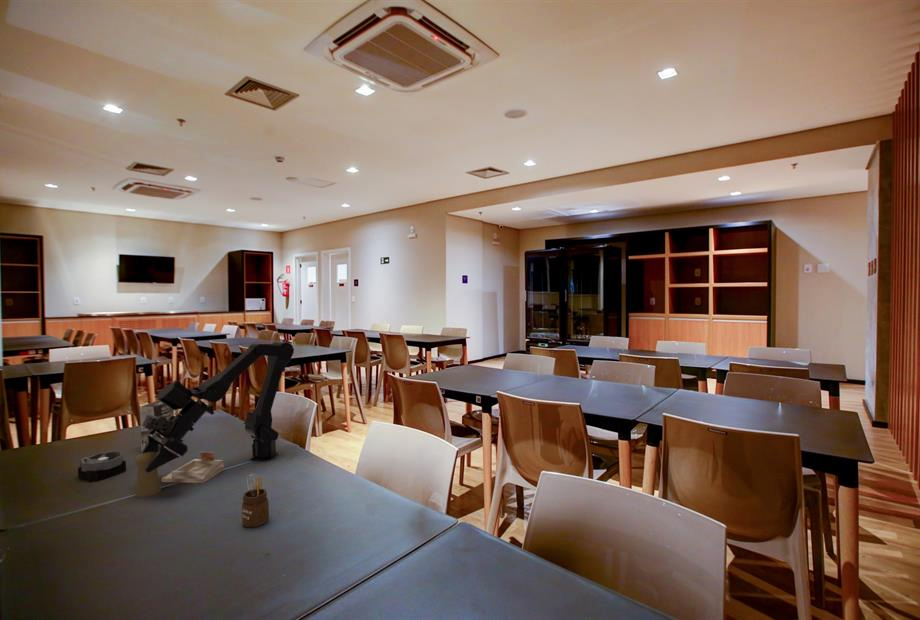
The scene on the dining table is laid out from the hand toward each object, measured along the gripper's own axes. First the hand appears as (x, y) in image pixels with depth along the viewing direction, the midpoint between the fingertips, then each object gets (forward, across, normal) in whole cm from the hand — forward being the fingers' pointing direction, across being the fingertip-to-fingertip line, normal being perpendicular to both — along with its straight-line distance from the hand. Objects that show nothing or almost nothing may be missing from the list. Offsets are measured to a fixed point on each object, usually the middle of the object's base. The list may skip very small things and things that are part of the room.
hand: (142, 467), depth 121 cm
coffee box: (-4, -40, +15) cm, 43 cm away
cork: (+5, 0, +6) cm, 8 cm away
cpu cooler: (+9, -26, +2) cm, 27 cm away
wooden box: (-4, -3, +15) cm, 15 cm away
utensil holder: (-5, +39, +16) cm, 42 cm away
